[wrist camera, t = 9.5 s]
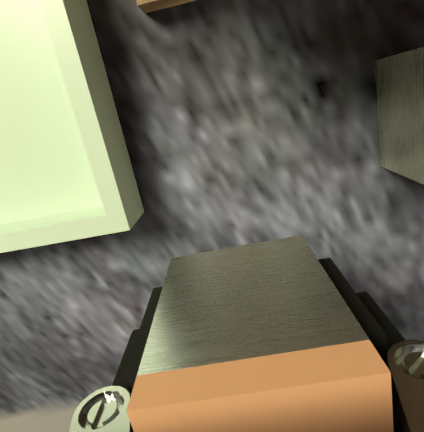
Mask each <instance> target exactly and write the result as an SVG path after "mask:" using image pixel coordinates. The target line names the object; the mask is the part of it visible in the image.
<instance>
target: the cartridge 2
mask: <svg viewBox="0 0 424 432" xmlns="http://www.w3.org/2000/svg"><path fill="white" fill-rule="evenodd" d="M375 69H376V89H377V108H378V127H379V147H380V166H381V167H383V168H386V169H388V170H390V171H393V172H395V173H397V174H400V175H402V176H405V177H407V178H409V179H412V180H414V181H416V182H419V183H421V184H424V47H421V48H418V49H414V50H411V51H407V52H404V53H400V54H397V55H393V56H390V57H386V58H383V59H380V60H376V61H375Z"/></svg>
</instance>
